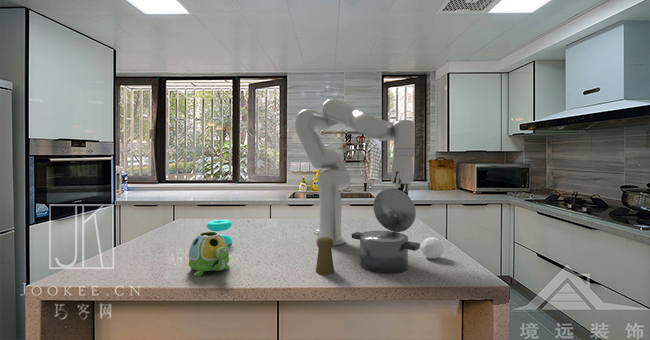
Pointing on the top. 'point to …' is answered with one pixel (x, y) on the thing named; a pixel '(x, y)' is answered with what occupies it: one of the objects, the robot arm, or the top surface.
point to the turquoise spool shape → (220, 228)
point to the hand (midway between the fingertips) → (403, 201)
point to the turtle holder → (208, 253)
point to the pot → (384, 251)
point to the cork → (324, 256)
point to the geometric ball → (432, 248)
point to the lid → (394, 210)
